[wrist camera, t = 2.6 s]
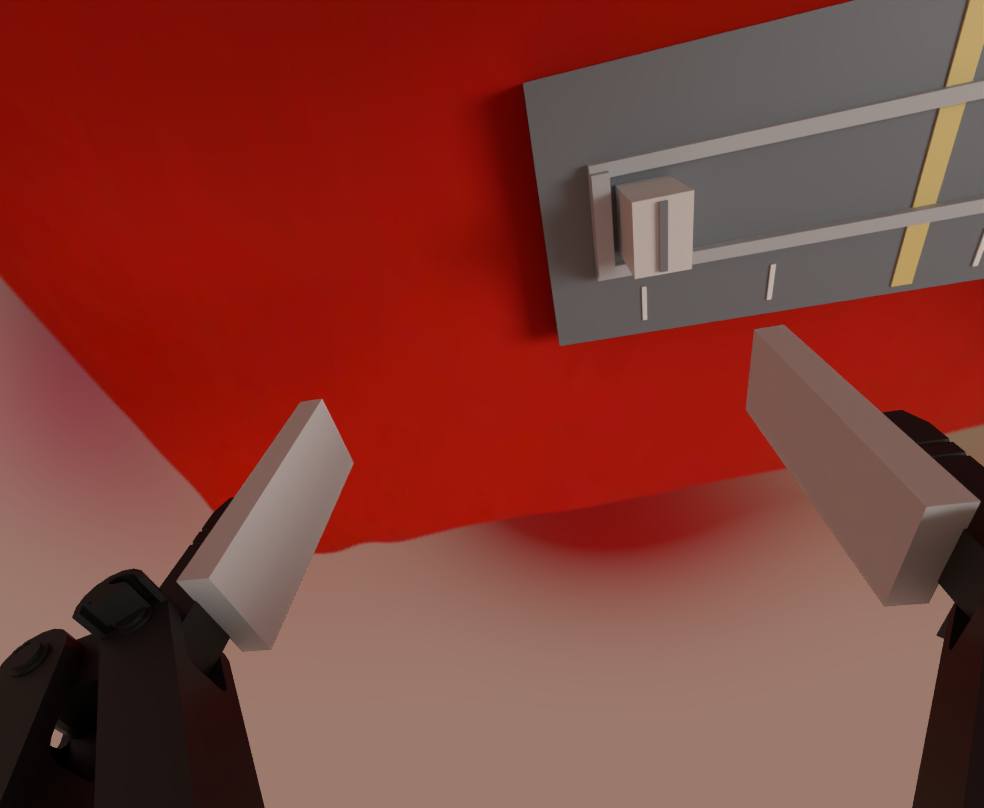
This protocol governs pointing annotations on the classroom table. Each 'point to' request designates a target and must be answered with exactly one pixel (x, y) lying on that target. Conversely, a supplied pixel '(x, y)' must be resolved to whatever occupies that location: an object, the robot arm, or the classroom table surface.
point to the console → (771, 165)
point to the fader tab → (655, 225)
